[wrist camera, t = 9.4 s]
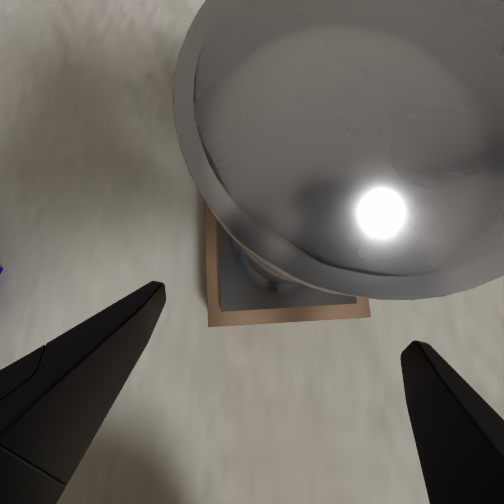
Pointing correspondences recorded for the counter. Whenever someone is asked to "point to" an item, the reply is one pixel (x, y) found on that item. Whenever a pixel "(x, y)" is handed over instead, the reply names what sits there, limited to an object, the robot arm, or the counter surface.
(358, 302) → the stand
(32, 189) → the counter surface
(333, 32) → the grey plastic cylinder
